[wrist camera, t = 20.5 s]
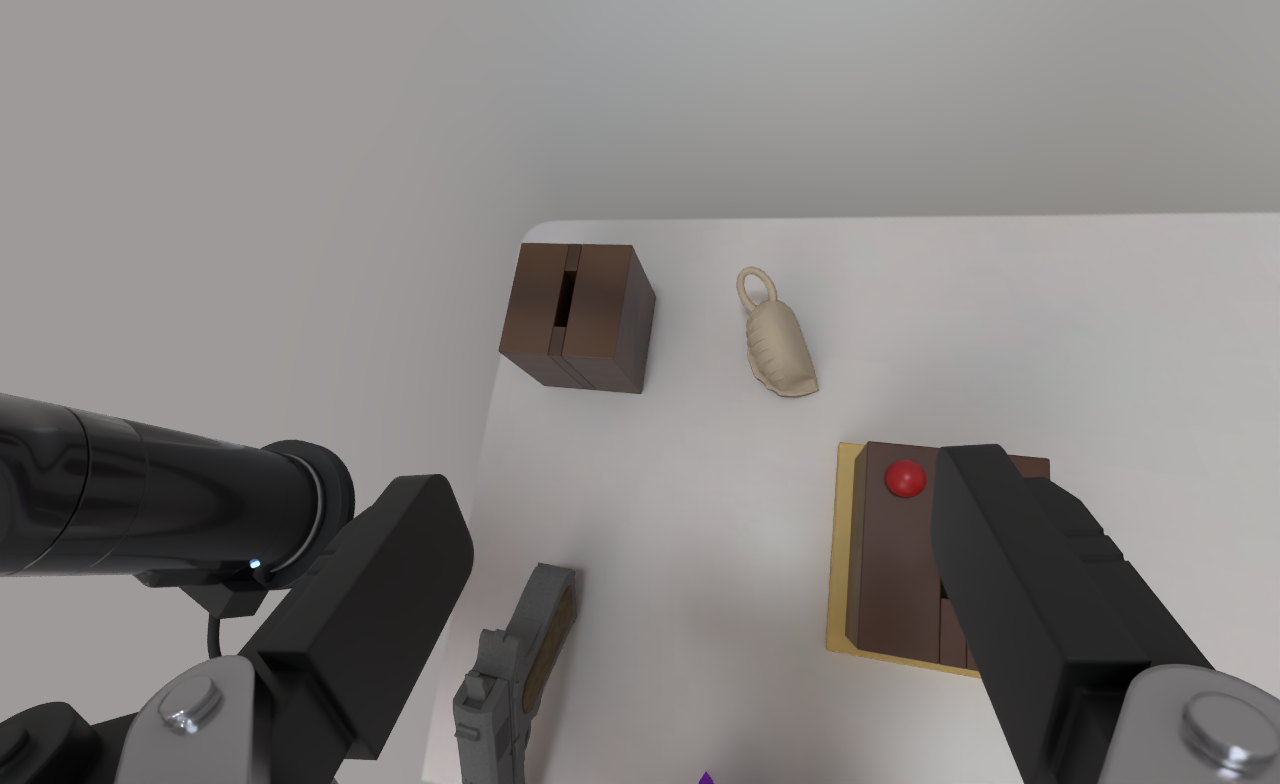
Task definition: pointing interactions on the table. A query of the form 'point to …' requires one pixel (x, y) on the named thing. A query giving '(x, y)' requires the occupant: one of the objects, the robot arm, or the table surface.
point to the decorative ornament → (776, 342)
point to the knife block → (580, 316)
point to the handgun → (512, 679)
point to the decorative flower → (706, 779)
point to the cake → (894, 560)
